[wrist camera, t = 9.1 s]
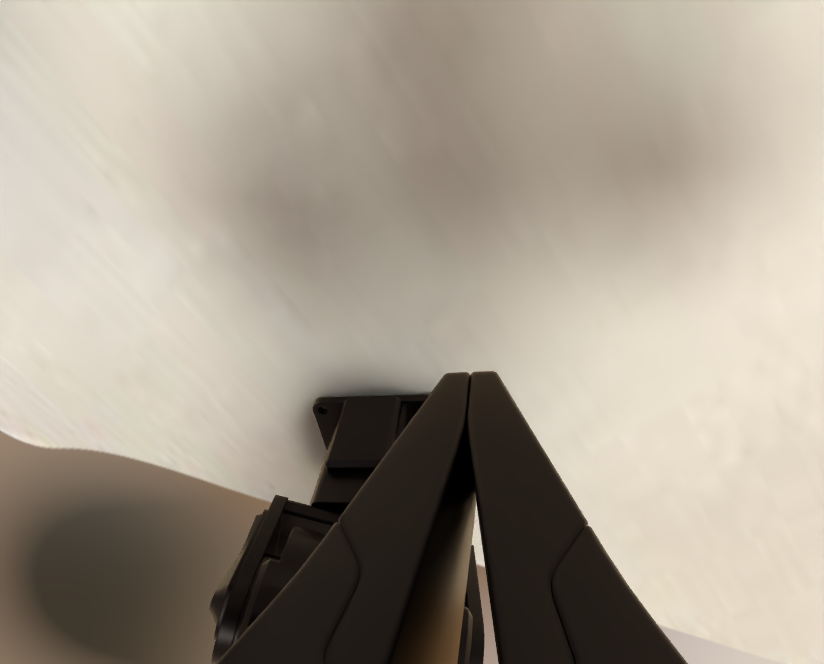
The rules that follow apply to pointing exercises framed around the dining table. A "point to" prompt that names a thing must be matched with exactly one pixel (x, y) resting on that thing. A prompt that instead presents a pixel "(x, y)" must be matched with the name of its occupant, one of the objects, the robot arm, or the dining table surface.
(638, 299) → the dining table surface
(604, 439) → the dining table surface
